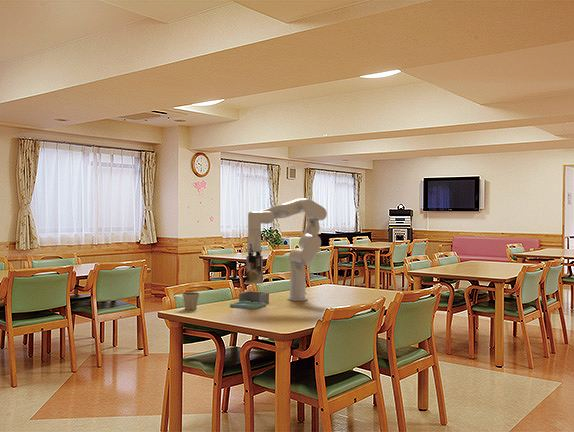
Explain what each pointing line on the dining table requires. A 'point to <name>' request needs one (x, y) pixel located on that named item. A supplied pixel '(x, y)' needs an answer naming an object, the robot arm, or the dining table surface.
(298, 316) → the dining table surface
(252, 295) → the bay
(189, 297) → the flower pot
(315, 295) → the dining table surface
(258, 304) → the tray
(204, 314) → the dining table surface
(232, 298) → the dining table surface
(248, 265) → the coffee box
